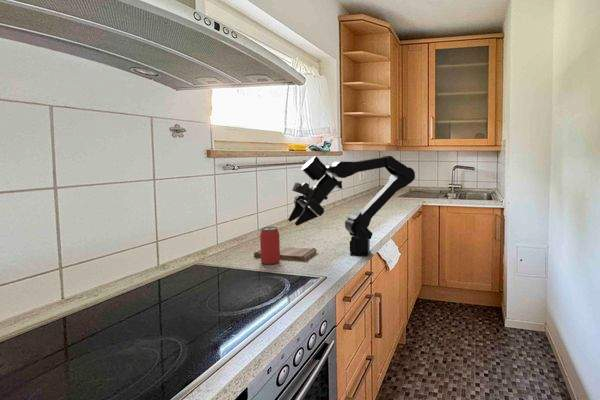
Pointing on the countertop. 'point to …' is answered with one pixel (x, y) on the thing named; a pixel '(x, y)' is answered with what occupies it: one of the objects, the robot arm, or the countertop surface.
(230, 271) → the countertop surface
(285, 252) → the walnut board
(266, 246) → the beer can
